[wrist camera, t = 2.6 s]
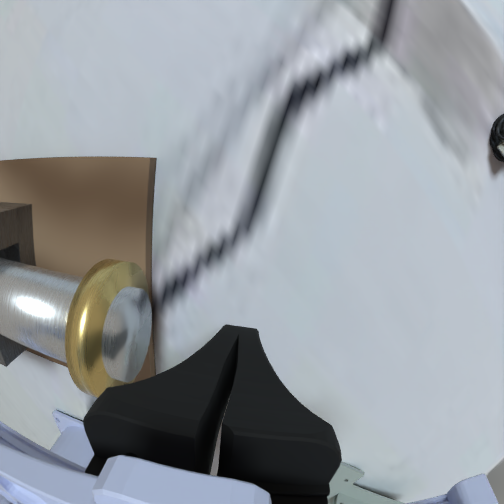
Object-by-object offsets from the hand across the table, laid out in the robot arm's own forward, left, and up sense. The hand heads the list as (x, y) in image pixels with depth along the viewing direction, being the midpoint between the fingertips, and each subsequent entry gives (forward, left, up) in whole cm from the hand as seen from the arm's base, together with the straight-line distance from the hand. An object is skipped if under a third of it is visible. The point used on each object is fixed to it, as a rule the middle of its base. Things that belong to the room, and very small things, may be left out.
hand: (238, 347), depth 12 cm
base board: (0, +18, -4) cm, 19 cm away
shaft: (0, +12, -2) cm, 13 cm away
